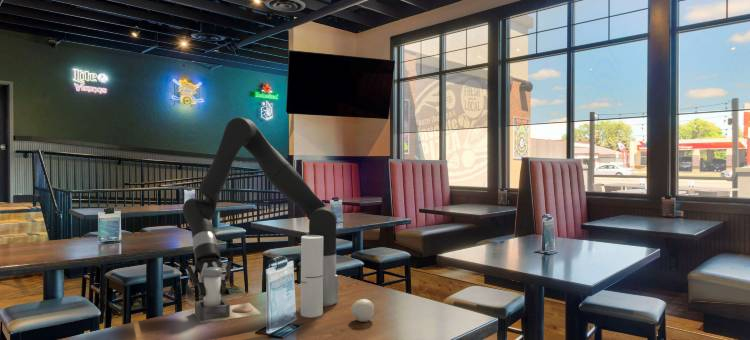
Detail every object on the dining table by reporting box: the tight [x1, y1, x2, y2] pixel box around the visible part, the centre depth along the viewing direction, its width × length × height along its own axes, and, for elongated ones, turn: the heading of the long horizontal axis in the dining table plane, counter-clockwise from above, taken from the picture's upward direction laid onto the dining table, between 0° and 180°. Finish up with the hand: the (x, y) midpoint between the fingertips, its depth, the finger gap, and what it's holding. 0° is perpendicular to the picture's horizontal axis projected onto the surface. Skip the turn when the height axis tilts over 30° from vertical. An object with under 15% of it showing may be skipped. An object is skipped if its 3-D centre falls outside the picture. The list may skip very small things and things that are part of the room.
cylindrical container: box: [300, 234, 324, 318], centre depth 149 cm, size 7×7×25 cm
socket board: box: [192, 297, 262, 325], centre depth 145 cm, size 18×13×5 cm
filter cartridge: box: [203, 267, 223, 308], centre depth 143 cm, size 5×5×14 cm
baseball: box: [350, 298, 375, 323], centre depth 143 cm, size 7×7×7 cm
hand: (213, 293), depth 141 cm, fingers closed on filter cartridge, 5 cm apart
